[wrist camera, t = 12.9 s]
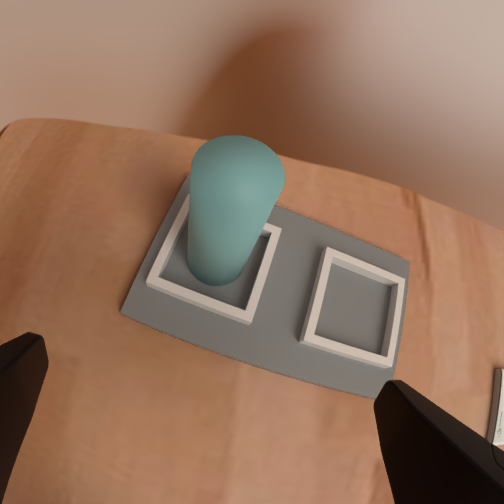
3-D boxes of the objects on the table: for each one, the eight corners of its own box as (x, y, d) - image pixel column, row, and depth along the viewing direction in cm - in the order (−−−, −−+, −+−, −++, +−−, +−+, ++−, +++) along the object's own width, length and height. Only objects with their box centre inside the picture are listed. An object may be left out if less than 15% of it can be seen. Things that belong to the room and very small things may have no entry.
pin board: (405, 264, 26) (416, 257, 25) (383, 401, 21) (395, 401, 20) (188, 177, 25) (189, 165, 24) (121, 314, 20) (116, 309, 19)
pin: (206, 296, 21) (223, 226, 12) (176, 248, 22) (174, 153, 13) (255, 268, 23) (302, 187, 14) (225, 223, 24) (251, 125, 15)
